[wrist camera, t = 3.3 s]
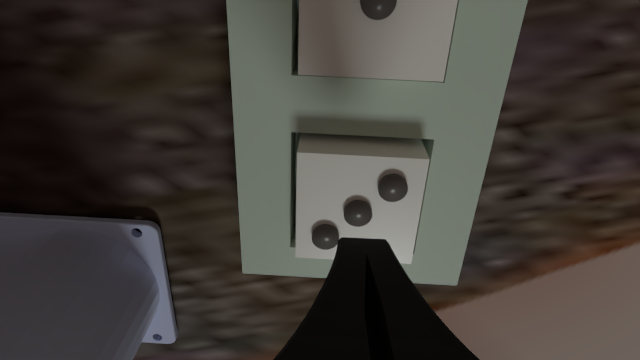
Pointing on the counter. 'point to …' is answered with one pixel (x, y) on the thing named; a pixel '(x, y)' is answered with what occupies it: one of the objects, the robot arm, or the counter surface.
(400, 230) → the tile three pips
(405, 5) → the tile one pip
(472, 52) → the button board
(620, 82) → the counter surface
